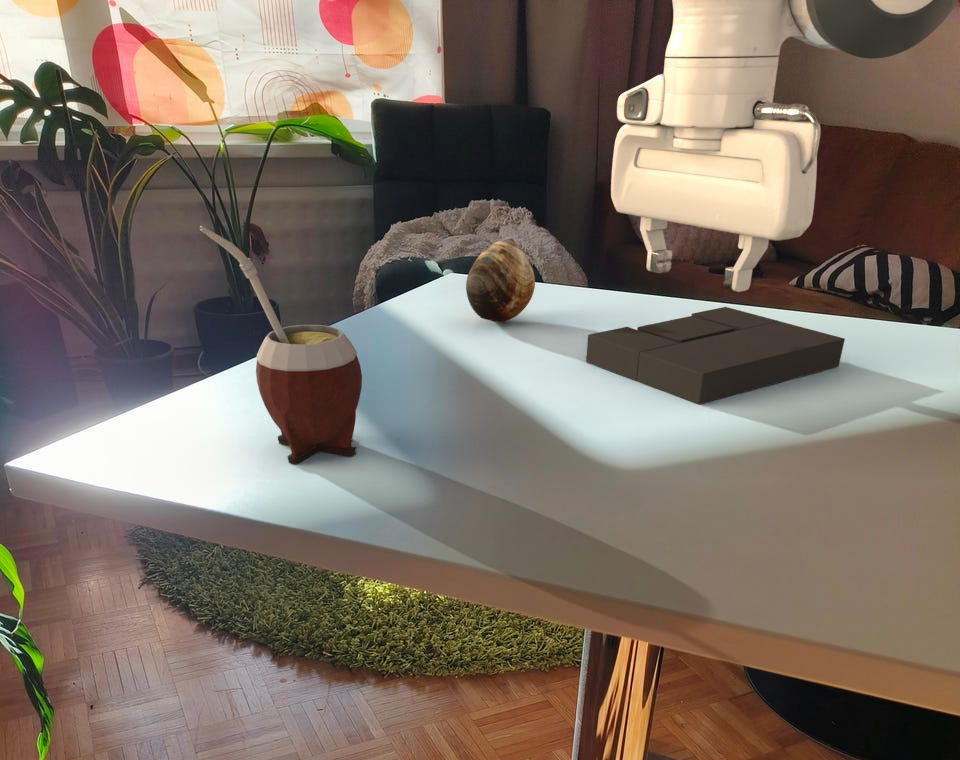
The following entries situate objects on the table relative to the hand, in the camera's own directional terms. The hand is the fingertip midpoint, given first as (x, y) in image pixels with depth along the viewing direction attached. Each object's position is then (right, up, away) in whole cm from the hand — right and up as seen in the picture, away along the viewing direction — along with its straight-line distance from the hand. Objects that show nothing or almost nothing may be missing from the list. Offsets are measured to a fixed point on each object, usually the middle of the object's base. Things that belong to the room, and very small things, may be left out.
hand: (695, 280), depth 80 cm
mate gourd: (-31, -19, -16) cm, 40 cm away
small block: (0, -6, +4) cm, 7 cm away
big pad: (+2, -7, +1) cm, 7 cm away
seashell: (-17, +1, +13) cm, 22 cm away
